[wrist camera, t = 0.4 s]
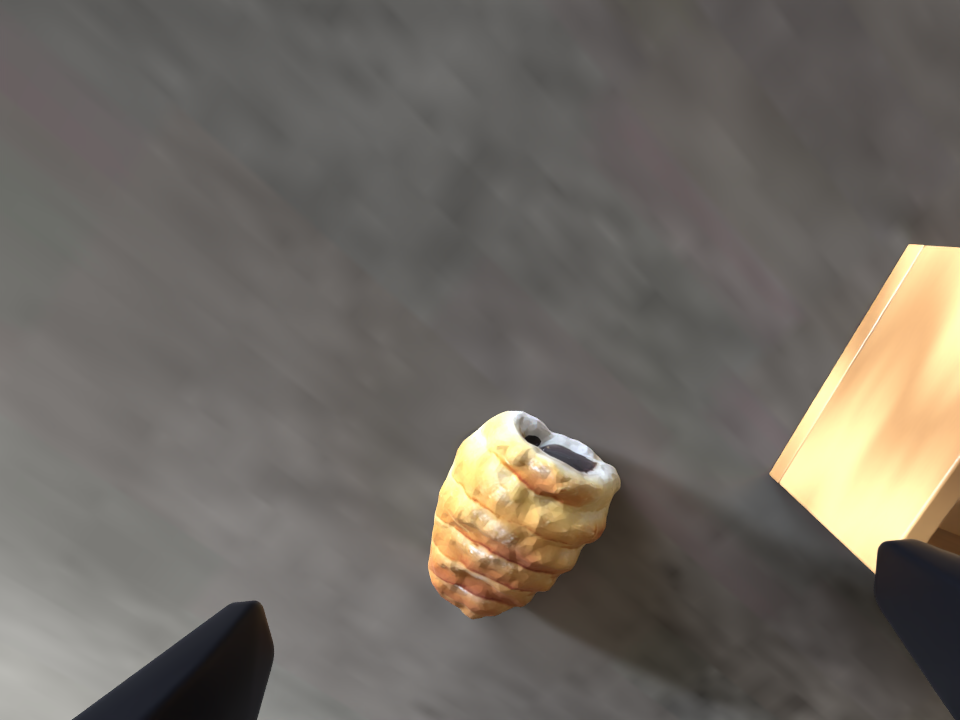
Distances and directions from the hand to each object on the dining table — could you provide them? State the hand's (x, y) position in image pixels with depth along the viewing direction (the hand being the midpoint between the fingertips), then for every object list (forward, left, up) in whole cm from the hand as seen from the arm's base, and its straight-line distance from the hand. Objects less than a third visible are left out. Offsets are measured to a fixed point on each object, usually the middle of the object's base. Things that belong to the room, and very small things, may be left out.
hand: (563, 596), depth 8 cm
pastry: (-7, +1, -15) cm, 16 cm away
